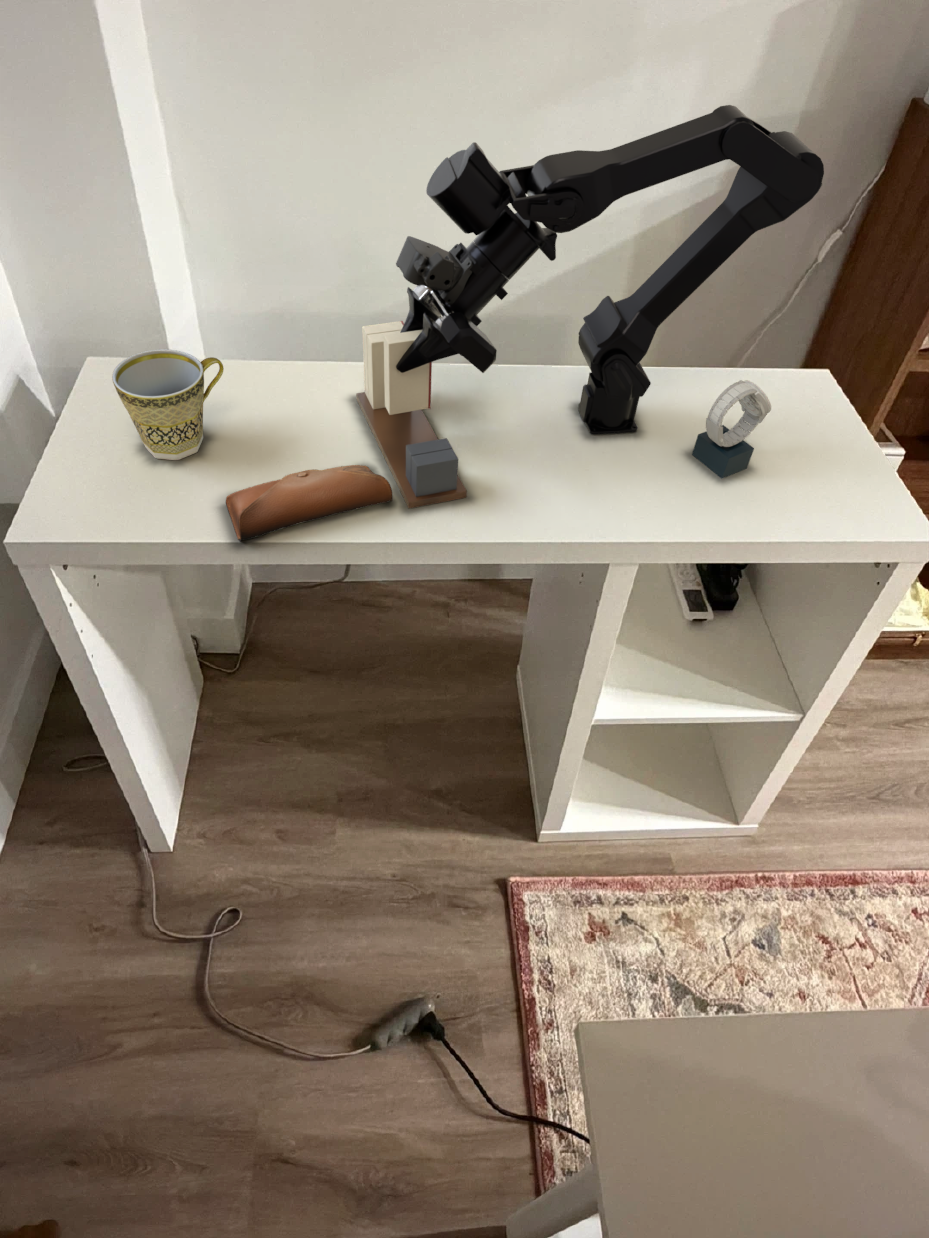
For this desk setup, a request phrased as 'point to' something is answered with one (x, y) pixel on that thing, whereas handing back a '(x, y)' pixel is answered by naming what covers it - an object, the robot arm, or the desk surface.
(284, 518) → the sunglasses case
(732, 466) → the watch
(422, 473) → the grey books
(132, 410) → the ceramic cup
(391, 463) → the shelf board
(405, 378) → the white book
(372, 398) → the white books
